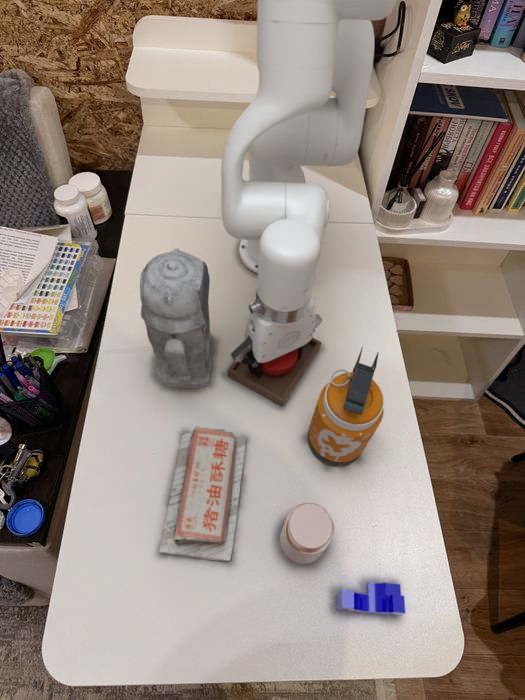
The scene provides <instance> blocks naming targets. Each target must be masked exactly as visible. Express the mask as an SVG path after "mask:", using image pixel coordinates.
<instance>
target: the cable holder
mask: <svg viewBox="0 0 525 700" xmlns="http://www.w3.org/2000/svg"><path fill="white" fill-rule="evenodd" d="M365 588H366V589H365V591H366V592H365V593H359V592H355V590H347V589H342V590H340V591H337V593H336V610H337V611H348V612H355V613H356V612H357V613H367V614H380V615H389V616H399V615H403V614H406V605H405V595H402V589H401V584H399V583H388V582H366V584H365Z"/></svg>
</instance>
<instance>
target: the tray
mask: <svg viewBox="0 0 525 700" xmlns="http://www.w3.org/2000/svg"><path fill="white" fill-rule="evenodd" d="M321 345H322V341H320V340H318V339H316V338H314V337H312V339H311V340H310V341H309V342H308V343H307V344H305V345H303V350H302V355H301V358H300V359H297V361H296V364H295V366H294V367H293V368H292V369H291V370H290V371H289V372H287V373H285V374H282V375H271V374H267V373H265V372H264V371H262V375H261V377H260V378H257V377H256V375H255V373H251V372H250V370H249V369H248V364H243V363H242V362H236V361H234V360H233V362H232V363H231V365H230V366H229V367H228V369H227V377H229V378H230V379H232V380H233V381H236V382H237V383H238V384H241V385H243V386H244V387H246V388H248V389H250V390H252V392H255V393H257V394H259V396H261V397H263V398H265V399H267V400H269V401H271V402H273V403H274V404H276V405H278V406H280V407H284V405H285V403H287V401H288V399H289V397H291V395H292V393H293V391H294V390H295V388H296V386H297V385H298V383H299V382H300V381H301V379H302V377H303V376H304V374H305V373H306V371H307V370H308V368H309V366H310V364H311V363H312V361H313V360H314V359H315V357H316V355H317V354H318V352H319V350H320V349H321Z"/></svg>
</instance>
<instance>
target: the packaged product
mask: <svg viewBox="0 0 525 700" xmlns="http://www.w3.org/2000/svg"><path fill="white" fill-rule="evenodd" d="M246 445H247V437H241V436H235V435H234V433H233V432H232V431H227V430H225V429H218V428H217V429H212V428H208V427H200V426H197V425H196V426H194V428H193V430H185V431H184V432H182V433H181V439H180V445H179V449H178V453H177V459H176V466H175V470H174V474H173V479H172V485H171V489H170V494H169V500H168V505H167V509H166V515H165V520H164V525H163V530H162V535H161V541H160V544H159V545H160V546H159V550H158V552H159V553H163V554H165V555H166V554H167V555H171V556H183V557H184V556H185V557H190V558H197V559H203V560H209V561H221V562H222V561H223V562H231V559H232V555H233V554H232V552H233V547H234V540H235V534H236V526H237V525H236V524H237V517H238V516H237V515H238V507H239V499H240V493H241V487H242V486H241V485H242V474H243V469H244V462H245V451H246Z"/></svg>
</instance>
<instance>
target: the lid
mask: <svg viewBox="0 0 525 700" xmlns="http://www.w3.org/2000/svg"><path fill="white" fill-rule="evenodd" d="M297 358H298V349H295V350H293V351H291V352H289V353H286V354H284V355H282V356H280V357H278V358H275V359H273V360H271V361H268V362H265V363H261V364H262V371H264V372H265V373H267V374H271V375H282V374H285V373H287V372H289V371H290V370H291V369H292V368H293V367H294V366H295V364H296V361H297Z"/></svg>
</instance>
